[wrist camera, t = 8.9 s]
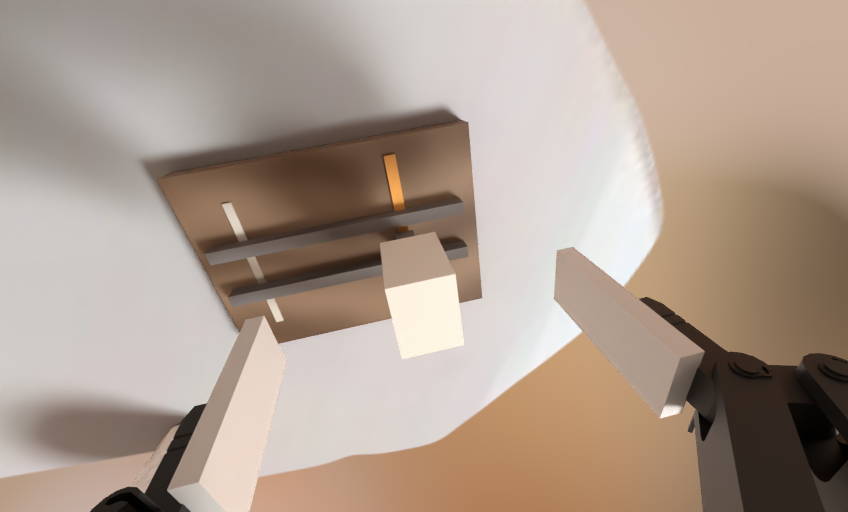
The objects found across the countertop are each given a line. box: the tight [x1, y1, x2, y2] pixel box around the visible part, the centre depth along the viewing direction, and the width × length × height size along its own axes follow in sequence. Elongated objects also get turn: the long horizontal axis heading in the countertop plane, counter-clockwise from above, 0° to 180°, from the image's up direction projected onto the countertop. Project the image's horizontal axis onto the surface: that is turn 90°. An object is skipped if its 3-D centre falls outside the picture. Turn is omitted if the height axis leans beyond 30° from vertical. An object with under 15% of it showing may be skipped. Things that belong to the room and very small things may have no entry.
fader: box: [380, 230, 464, 359], centre depth 18 cm, size 4×3×8 cm
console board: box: [157, 120, 482, 344], centre depth 22 cm, size 13×18×2 cm
